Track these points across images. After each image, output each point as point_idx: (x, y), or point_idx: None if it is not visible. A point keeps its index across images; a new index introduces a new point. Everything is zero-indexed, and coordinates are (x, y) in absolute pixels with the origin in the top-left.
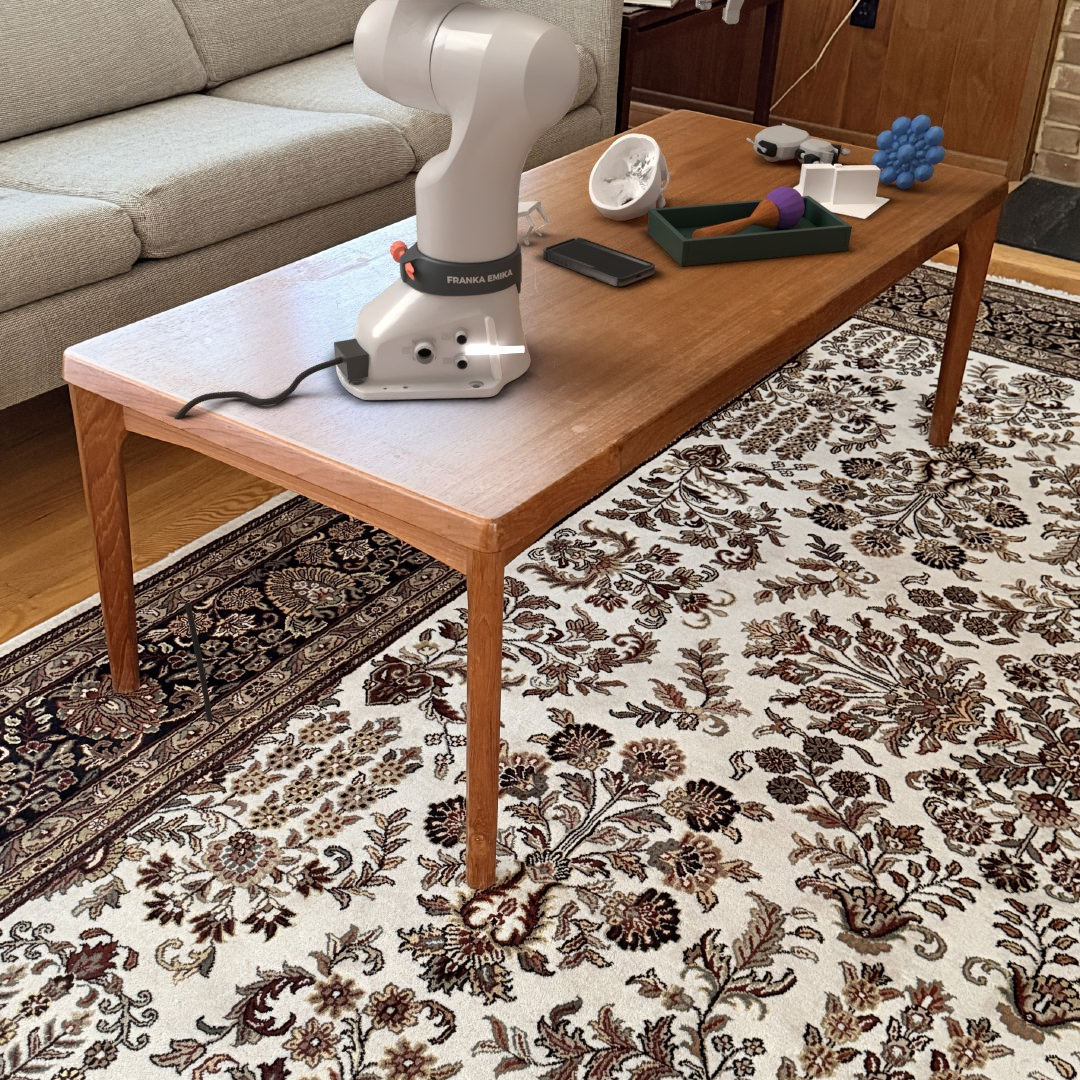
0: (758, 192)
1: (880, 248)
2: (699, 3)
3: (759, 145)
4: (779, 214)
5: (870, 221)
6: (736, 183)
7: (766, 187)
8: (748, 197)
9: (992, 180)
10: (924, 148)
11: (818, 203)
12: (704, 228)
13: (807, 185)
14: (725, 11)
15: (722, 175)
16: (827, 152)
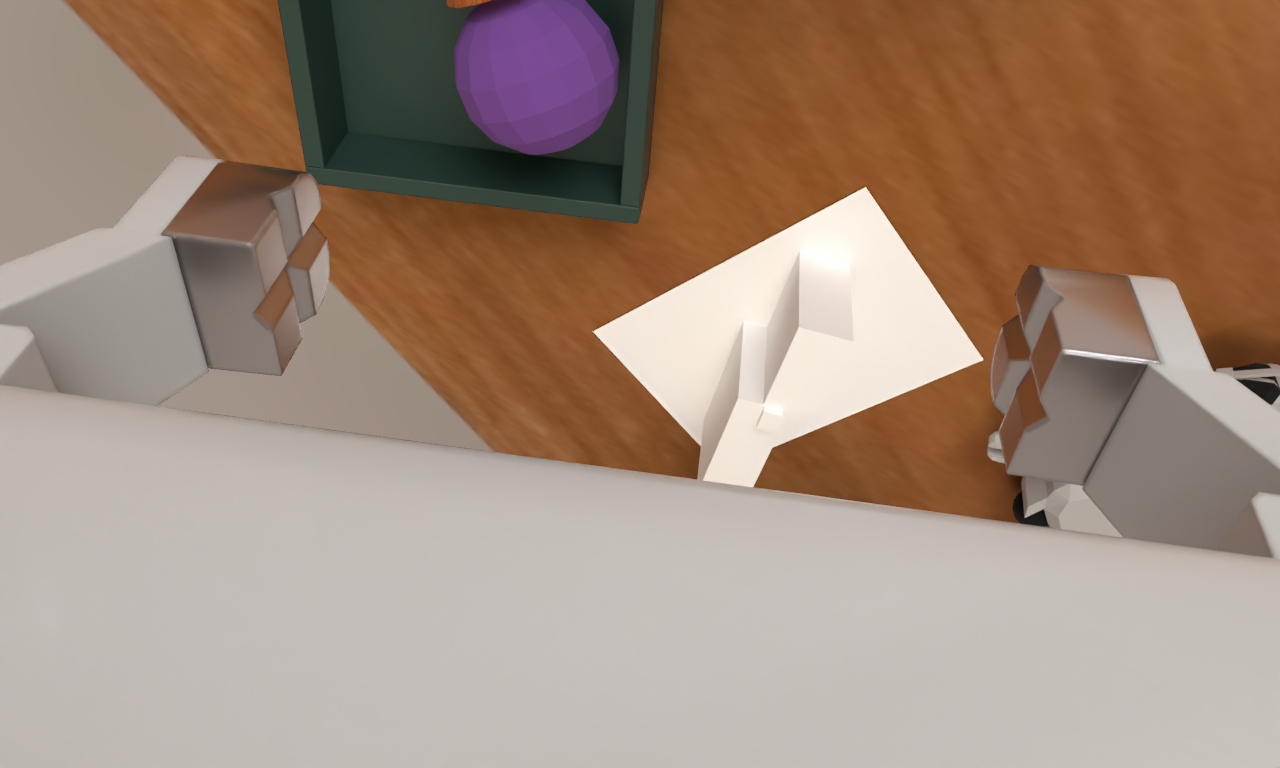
0: (972, 180)
1: (347, 235)
2: (1063, 295)
3: (1262, 380)
4: (470, 14)
5: (570, 333)
6: (1109, 160)
7: (1004, 233)
8: (942, 117)
9: None
10: None
11: (551, 209)
12: None
13: (795, 297)
14: (174, 216)
15: (1228, 160)
16: (1038, 507)
